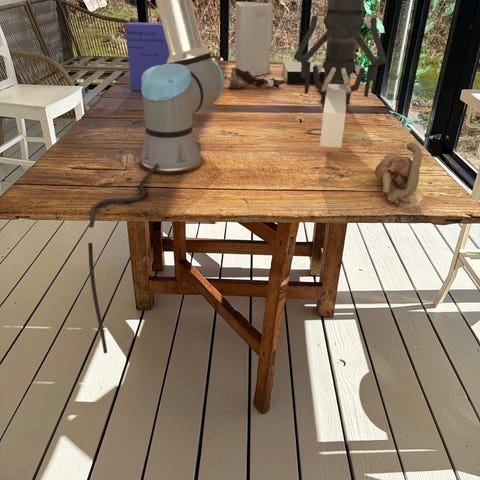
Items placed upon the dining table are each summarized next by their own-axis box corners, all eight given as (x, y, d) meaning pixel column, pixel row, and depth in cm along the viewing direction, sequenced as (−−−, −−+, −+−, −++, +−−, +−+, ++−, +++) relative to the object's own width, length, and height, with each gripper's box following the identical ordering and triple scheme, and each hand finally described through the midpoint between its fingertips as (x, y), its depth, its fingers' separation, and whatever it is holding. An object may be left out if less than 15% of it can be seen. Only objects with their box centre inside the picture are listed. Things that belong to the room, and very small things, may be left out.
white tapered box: (273, 76, 210) (276, 6, 196) (239, 77, 209) (240, 6, 194) (266, 67, 226) (268, 2, 212) (235, 67, 225) (235, 1, 210)
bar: (341, 147, 113) (345, 113, 109) (319, 146, 114) (323, 112, 109) (342, 113, 136) (346, 84, 132) (324, 112, 137) (327, 83, 133)
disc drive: (287, 84, 198) (287, 71, 196) (281, 72, 218) (282, 61, 215) (329, 84, 199) (330, 72, 196) (320, 72, 218) (321, 61, 216)
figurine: (210, 87, 179) (288, 95, 182) (212, 65, 176) (291, 73, 180) (208, 84, 201) (278, 91, 205) (210, 64, 198) (280, 71, 202)
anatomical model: (387, 195, 117) (397, 211, 103) (362, 171, 116) (368, 184, 102) (428, 158, 112) (444, 169, 98) (402, 132, 112) (415, 140, 97)
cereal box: (177, 88, 189) (174, 22, 177) (175, 91, 185) (172, 24, 173) (134, 87, 190) (128, 21, 178) (131, 90, 186) (124, 23, 174)
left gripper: (407, -10, 100) (390, 92, 111) (289, -12, 105) (284, 87, 116) (411, -8, 94) (392, 101, 105) (285, -10, 98) (280, 94, 109)
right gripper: (370, 37, 124) (360, 103, 133) (314, 35, 127) (309, 99, 136) (371, 42, 118) (361, 110, 127) (313, 40, 120) (307, 107, 129)
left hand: (335, 93), depth 110 cm, fingers open, 13 cm apart
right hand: (334, 104), depth 131 cm, fingers closed on bar, 5 cm apart
